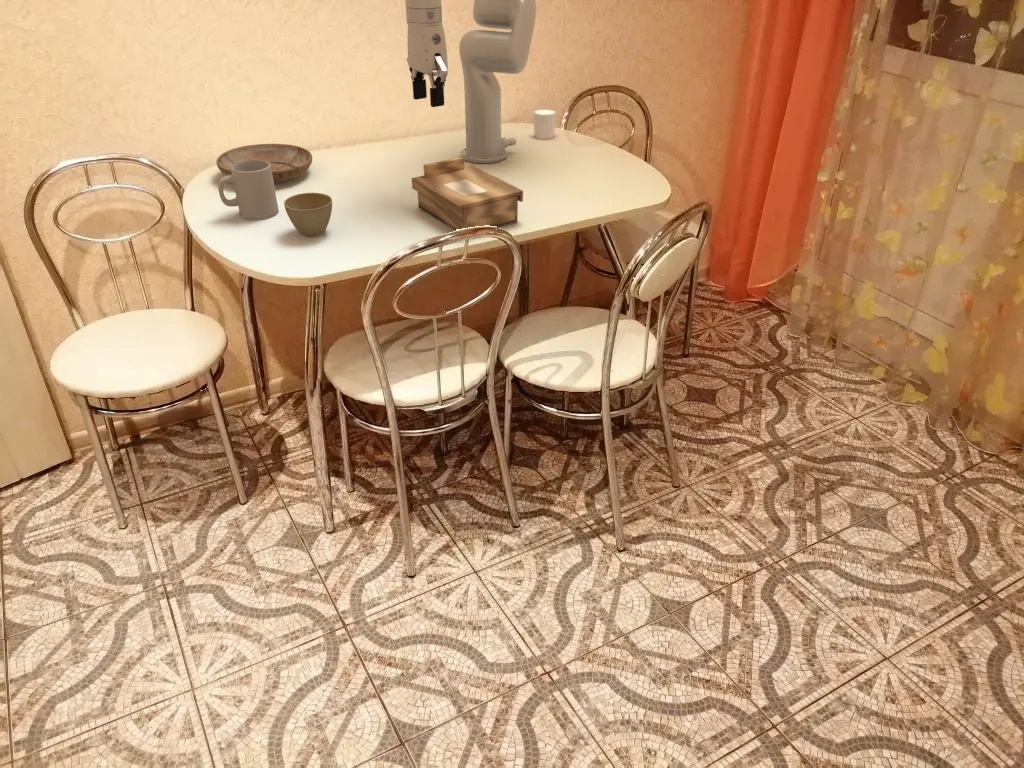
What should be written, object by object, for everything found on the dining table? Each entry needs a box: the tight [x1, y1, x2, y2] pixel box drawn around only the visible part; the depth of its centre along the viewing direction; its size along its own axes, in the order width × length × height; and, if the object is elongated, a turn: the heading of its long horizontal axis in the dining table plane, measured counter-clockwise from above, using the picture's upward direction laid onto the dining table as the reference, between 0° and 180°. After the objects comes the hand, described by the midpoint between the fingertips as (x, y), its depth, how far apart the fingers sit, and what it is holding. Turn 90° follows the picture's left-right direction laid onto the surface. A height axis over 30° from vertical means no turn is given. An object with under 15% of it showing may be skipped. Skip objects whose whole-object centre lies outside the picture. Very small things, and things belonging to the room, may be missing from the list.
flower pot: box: [283, 192, 333, 238], centre depth 165 cm, size 10×10×7 cm
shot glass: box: [532, 108, 558, 140], centre depth 224 cm, size 7×7×7 cm
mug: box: [217, 160, 279, 221], centre depth 172 cm, size 12×8×11 cm
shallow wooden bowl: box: [215, 143, 313, 184], centre depth 196 cm, size 23×24×5 cm
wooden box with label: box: [410, 156, 524, 217], centre depth 171 cm, size 16×21×5 cm
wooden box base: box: [417, 192, 519, 231], centre depth 174 cm, size 14×20×6 cm
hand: (428, 101), depth 174 cm, fingers open, 7 cm apart
